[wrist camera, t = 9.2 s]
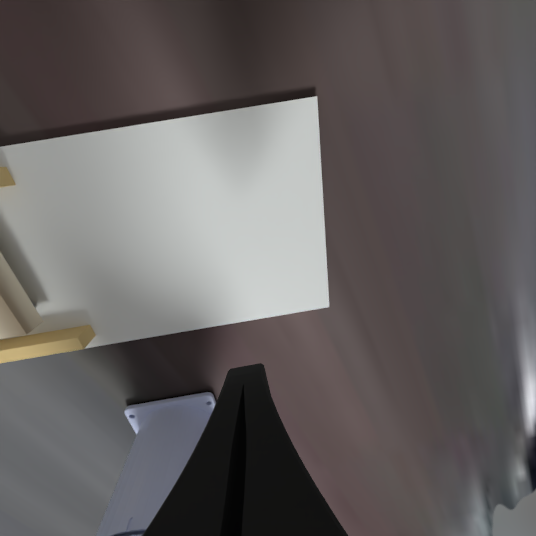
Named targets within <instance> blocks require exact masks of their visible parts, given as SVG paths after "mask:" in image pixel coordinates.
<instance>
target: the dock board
mask: <svg viewBox="0 0 536 536" xmlns="http://www.w3.org/2000/svg"><path fill="white" fill-rule="evenodd" d="M0 252H1V254H2V255H3V257H4V258H5V260H6V262H7V263H8V265H9V266H10V268H11V270H12V271H13V273H14V275H15V276H16V278H17V279H18V281H19V283H20V284H21V286H22V287H23V289H24V291H25V292H26V294H27V296H28V297H29V299H30V300H31V302H32V303H33V304H34V305H35V307H36V310H37V312H38V313H39V315H40V317H41V318H42V320H43V321H44V322H42V323H41V324H40V325H38V326H37V327H36V328H35V329H33V330H32V331H31V332H29V333H28V334H27V335H21V336H15V337H9V338H3V339H0V363H4V362H10V361H16V360H22V359H28V358H34V357H40V356H46V355H51V354H57V353H63V352H69V351H75V350H81V349H85V348H90V347H96V346H102V345H108V344H114V343H120V342H126V341H132V340H138V339H143V338H149V337H155V336H161V335H167V334H173V333H179V332H185V331H191V330H197V329H202V328H208V327H214V326H220V325H226V324H232V323H238V322H244V321H250V320H256V319H261V318H267V317H273V316H279V315H285V314H291V313H297V312H303V311H309V310H314V309H320V308H326V307H329V293H328V276H327V259H326V241H325V224H324V207H323V189H322V172H321V155H320V137H319V120H318V102H317V96H315V97H309V98H303V99H297V100H290V101H284V102H278V103H271V104H265V105H259V106H253V107H246V108H240V109H234V110H228V111H221V112H215V113H209V114H203V115H196V116H190V117H184V118H178V119H171V120H165V121H159V122H152V123H146V124H140V125H134V126H127V127H121V128H115V129H109V130H102V131H96V132H90V133H84V134H77V135H71V136H65V137H59V138H52V139H46V140H40V141H33V142H27V143H21V144H15V145H8V146H2V147H0Z"/></svg>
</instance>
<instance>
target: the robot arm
mask: <svg viewBox="0 0 536 536" xmlns="http://www.w3.org/2000/svg"><path fill="white" fill-rule="evenodd" d="M209 401H210V402H209ZM124 413H125V415H126V417H127V418H128V420H129V422H130V424H131V426H132V427H133V429H134V431H135V433H136V434H137V435H136V438H135V440H134V443H133V445H132V448H131V450H130V452H129V455H128V457H127V460H126V462H125V465H124V467H123V470H122V472H121V475H120V477H119V479H118V482H117V484H116V487H115V489H114V492H113V494H112V497H111V499H110V502H109V504H108V506H107V509H106V511H105V514H104V516H103V519H102V521H101V524H100V526H99V529H98V531H97V533H96V536H348V535H347V533H346V532H345V530H344V529H343V527H342V526H341V524H340V523H339V521H338V520H337V518H336V517H335V515H334V513H333V512H332V510H331V509H330V507H329V505H328V504H327V502H326V501H325V499H324V497H323V496H322V494H321V493H320V491H319V490H318V488H317V486H316V485H315V483H314V481H313V480H312V478H311V476H310V474H309V473H308V471H307V469H306V468H305V466H304V464H303V462H302V460H301V459H300V457H299V455H298V453H297V451H296V449H295V448H294V446H293V444H292V442H291V440H290V438H289V436H288V434H287V432H286V430H285V428H284V425H283V423H282V421H281V419H280V417H279V414H278V412H277V410H276V407H275V405H274V402H273V400H272V397H271V394H270V390H269V385H268V381H267V377H266V373H265V368H264V365H263V364H261V363H260V364H254V365H249V366H244V367H238V368H233V369H230V370H229V371H228V373H227V376H226V379H225V382H224V385H223V387H222V390H221V393H220V395H219V397H218V400H217V402H216V401H215V398H214V395H213V394H212V393H210V392H205V393H199V394H194V395H188V396H182V397H176V398H170V399H165V400H159V401H153V402H147V403H141V404H136V405H130V406H127V407H126V409H125V411H124Z"/></svg>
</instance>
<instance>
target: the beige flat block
mask: <svg viewBox="0 0 536 536" xmlns="http://www.w3.org/2000/svg"><path fill="white" fill-rule="evenodd" d="M42 322H44V321H43V320H42V318H41V317H40V315H39V313H38V312H37V310H36V307H35V305H34V304H33V303H32V302H31V300H30V299H29V297H28V296H27V294H26V292H25V291H24V289H23V287H22V286H21V284H20V283H19V281H18V279H17V278H16V276H15V275H14V273H13V271H12V270H11V268H10V266H9V265H8V263H7V262H6V260H5V258H4V257H3V255H2V254H1V252H0V339H3V338H9V337H15V336H21V335H27V334H28V333H29V332H31V331H32V330H33V329H35V328H36V327H37V326H38V325H40V324H41V323H42Z"/></svg>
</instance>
